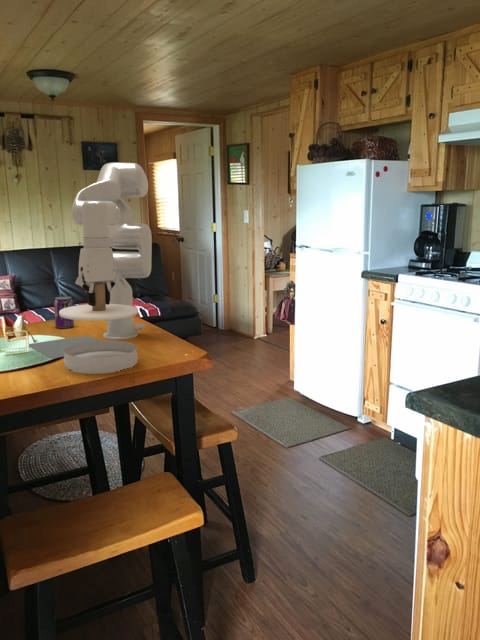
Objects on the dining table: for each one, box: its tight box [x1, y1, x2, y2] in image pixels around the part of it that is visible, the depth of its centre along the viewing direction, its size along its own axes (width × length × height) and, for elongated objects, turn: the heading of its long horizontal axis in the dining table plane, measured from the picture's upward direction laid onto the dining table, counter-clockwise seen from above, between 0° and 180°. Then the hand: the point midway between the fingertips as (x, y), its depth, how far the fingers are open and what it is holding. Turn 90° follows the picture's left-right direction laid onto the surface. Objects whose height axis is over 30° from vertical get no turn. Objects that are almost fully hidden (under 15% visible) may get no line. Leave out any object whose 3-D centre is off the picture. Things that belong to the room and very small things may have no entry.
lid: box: [59, 282, 139, 322], centre depth 164 cm, size 23×23×9 cm
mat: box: [28, 335, 107, 360], centre depth 187 cm, size 23×23×1 cm
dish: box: [63, 339, 138, 375], centre depth 168 cm, size 22×22×5 cm
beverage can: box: [53, 296, 75, 329], centre depth 218 cm, size 7×7×12 cm
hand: (99, 304), depth 165 cm, fingers closed on lid, 4 cm apart
